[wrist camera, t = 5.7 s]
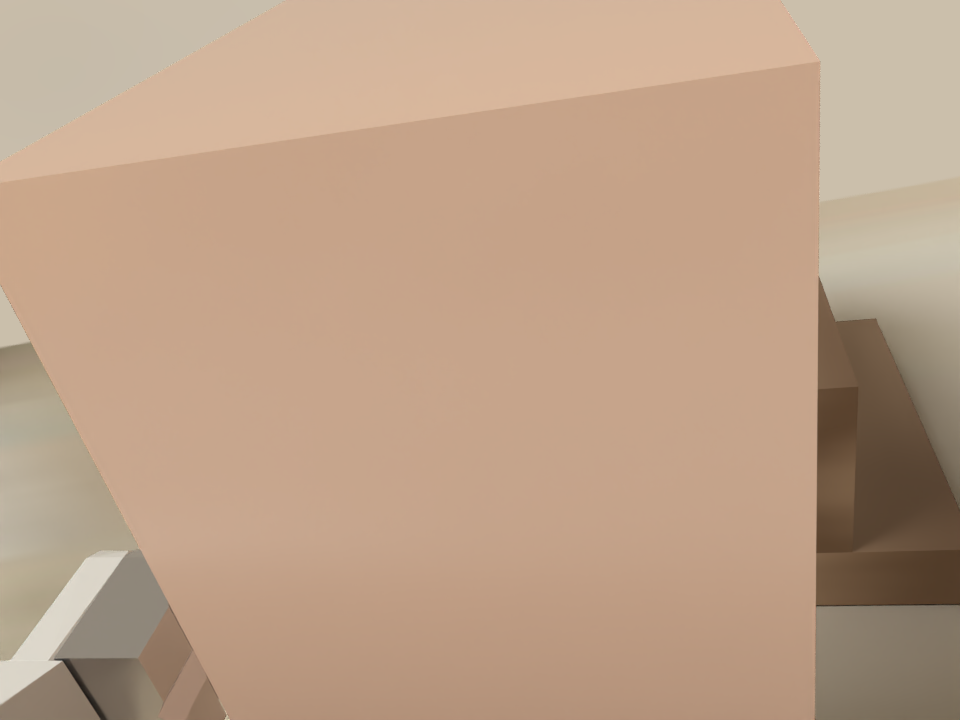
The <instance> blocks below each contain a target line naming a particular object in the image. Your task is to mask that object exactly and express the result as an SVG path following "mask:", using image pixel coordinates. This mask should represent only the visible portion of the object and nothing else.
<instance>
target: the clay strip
mask: <svg viewBox="0 0 960 720" xmlns="http://www.w3.org/2000/svg"><path fill="white" fill-rule="evenodd" d="M819 138H820V60H819V59H818V57H817V56H816V54H815V53H814V51H813V49H812V48H811V47H810V45H809V43H808V42H807V40H806V39H805V37H804V36H803V34H802V33H801V31H800V30H799V28H798V26H797V25H796V24H795V22H794V20H793V19H792V17H791V16H790V14H789V13H788V11H787V10H786V8H785V7H784V5H783V3H782V2H781V0H286V1H284V2H282V3H280V4H278V5H277V6H275V7H273V8H271V9H270V10H268V11H266V12H264V13H262V14H261V15H259V16H257V17H255V18H254V19H252V20H250V21H248V22H247V23H245V24H243V25H241V26H239V27H238V28H236V29H234V30H232V31H231V32H229V33H227V34H225V35H224V36H222V37H220V38H218V39H216V40H215V41H213V42H211V43H209V44H208V45H206V46H204V47H202V48H201V49H199V50H197V51H195V52H194V53H192V54H190V55H188V56H186V57H185V58H183V59H181V60H180V61H178V62H176V63H174V64H172V65H170V66H169V67H167V68H165V69H163V70H162V71H160V72H158V73H157V74H155V75H153V76H151V77H149V78H147V79H146V80H144V81H142V82H140V83H139V84H137V85H135V86H133V87H131V88H130V89H128V90H126V91H125V92H123V93H121V94H119V95H117V96H116V97H114V98H112V99H110V100H108V101H107V102H105V103H103V104H101V105H100V106H98V107H96V108H94V109H93V110H91V111H89V112H87V113H86V114H84V115H82V116H80V117H78V118H77V119H75V120H73V121H71V122H70V123H68V124H66V125H64V126H62V127H61V128H59V129H57V130H55V131H54V132H52V133H50V134H48V135H47V136H45V137H43V138H41V139H40V140H38V141H36V142H34V143H32V144H31V145H29V146H27V147H26V148H24V149H22V150H20V151H18V152H16V153H15V154H13V155H11V156H9V157H8V158H6V159H4V160H2V161H1V162H0V285H1V287H2V289H3V291H4V292H5V294H6V296H7V298H8V300H9V302H10V304H11V306H12V308H13V310H14V311H15V313H16V315H17V317H18V319H19V321H20V323H21V325H22V327H23V328H24V330H25V332H26V334H27V336H28V338H29V340H30V342H31V344H32V346H33V347H34V349H35V351H36V353H37V355H38V357H39V359H40V361H41V363H42V364H43V366H44V368H45V370H46V372H47V374H48V376H49V378H50V380H51V381H52V383H53V385H54V387H55V389H56V391H57V393H58V395H59V397H60V398H61V400H62V402H63V404H64V406H65V408H66V410H67V412H68V414H69V416H70V417H71V419H72V421H73V423H74V425H75V427H76V429H77V431H78V433H79V434H80V436H81V438H82V440H83V442H84V444H85V446H86V448H87V450H88V451H89V453H90V455H91V457H92V459H93V461H94V463H95V465H96V467H97V469H98V470H99V472H100V474H101V476H102V478H103V480H104V482H105V484H106V486H107V487H108V489H109V491H110V493H111V495H112V497H113V499H114V501H115V503H116V504H117V506H118V508H119V510H120V512H121V514H122V516H123V518H124V520H125V522H126V523H127V525H128V527H129V529H130V531H131V533H132V535H133V537H134V539H135V540H136V542H137V544H138V546H139V548H140V550H141V552H142V554H143V556H144V557H145V559H146V561H147V563H148V565H149V567H150V569H151V571H152V573H153V575H154V576H155V578H156V580H157V582H158V584H159V586H160V588H161V590H162V592H163V593H164V595H165V597H166V599H167V601H168V603H169V605H170V607H171V609H172V610H173V612H174V614H175V616H176V618H177V620H178V622H179V624H180V626H181V628H182V629H183V631H184V633H185V635H186V637H187V639H188V641H189V643H190V645H191V646H192V648H193V650H194V652H195V654H196V656H197V658H198V660H199V662H200V663H201V665H202V667H203V669H204V671H205V673H206V675H207V677H208V679H209V681H210V682H211V684H212V686H213V688H214V690H215V692H216V694H217V696H218V698H219V699H220V701H221V703H222V705H223V707H224V709H225V711H226V713H227V715H228V716H229V718H230V720H815V646H816V522H817V398H818V275H819V150H820V145H819V144H820V139H819Z"/></svg>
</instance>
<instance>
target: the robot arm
mask: <svg viewBox="0 0 960 720" xmlns="http://www.w3.org/2000/svg"><path fill="white" fill-rule="evenodd" d="M225 717H226V712H225V709H224V707H223V705H222V703H221V701H220V699H219V698H218V696H217V694H216V692H215V690H214V688H213V686H212V684H211V682H210V681H209V679H208V677H207V675H206V673H205V671H204V669H203V667H202V665H201V663H200V662H199V660H198V658H197V656H196V654H195V652H194V650H193V648H192V646H191V645H190V643H189V641H188V639H187V637H186V635H185V633H184V631H183V629H182V628H181V626H180V624H179V622H178V620H177V618H176V616H175V614H174V612H173V610H172V609H171V607H170V605H169V603H168V601H167V599H166V597H165V595H164V593H163V592H162V590H161V588H160V586H159V584H158V582H157V580H156V578H155V576H154V575H153V573H152V571H151V569H150V567H149V565H148V563H147V561H146V559H145V557H144V556H143V554H142V552H141V550H135V551H99V552H97V553H95V554H93V555H91V556H89V557H87V558H86V559H85V561H84V562H83V563H82V565H81V566H80V567H79V569H78V570H77V571H76V573H75V574H74V575H73V577H72V578H71V579H70V581H69V582H68V583H67V585H66V586H65V587H64V589H63V590H62V591H61V593H60V594H59V596H58V597H57V598H56V600H55V601H54V602H53V604H52V605H51V606H50V608H49V609H48V610H47V612H46V613H45V614H44V616H43V617H42V618H41V620H40V621H39V622H38V624H37V625H36V626H35V628H34V629H33V631H32V632H31V633H30V635H29V636H28V637H27V639H26V640H25V641H24V643H23V644H22V645H21V647H20V648H19V649H18V651H17V652H16V653H15V655H14V656H13V657H12V659H11V660H4V661H0V720H224V719H225Z"/></svg>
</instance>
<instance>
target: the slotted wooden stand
mask: <svg viewBox="0 0 960 720" xmlns="http://www.w3.org/2000/svg"><path fill="white" fill-rule="evenodd" d="M894 604H960V510H959V508H958V505H957V503H956V501H955V498H954V496H953V494H952V492H951V489H950V487H949V485H948V482H947V480H946V478H945V476H944V473H943V471H942V469H941V466H940V464H939V462H938V460H937V457H936V455H935V453H934V450H933V448H932V446H931V444H930V441H929V439H928V437H927V435H926V432H925V430H924V428H923V425H922V423H921V421H920V419H919V416H918V414H917V412H916V409H915V407H914V405H913V403H912V400H911V398H910V396H909V393H908V391H907V389H906V387H905V384H904V382H903V380H902V377H901V375H900V373H899V371H898V368H897V366H896V364H895V361H894V359H893V357H892V355H891V352H890V350H889V348H888V345H887V343H886V341H885V339H884V336H883V334H882V332H881V329H880V327H879V325H878V323H877V320H876V319H865V320H852V321H840V322H835V320H834V317H833V314H832V311H831V309H830V306H829V303H828V300H827V297H826V295H825V292H824V289H823V286H822V283H821V281H820V278H819V275H818V398H817V522H816V605H894Z"/></svg>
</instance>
